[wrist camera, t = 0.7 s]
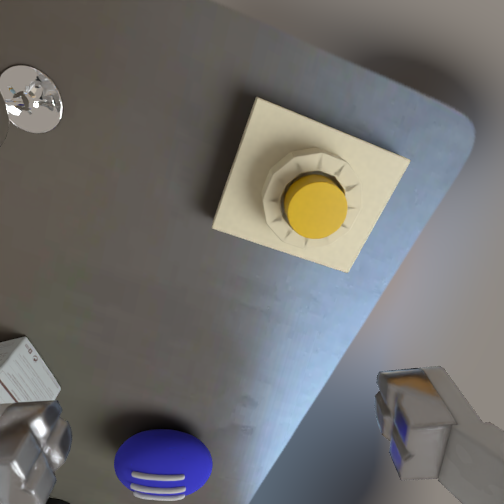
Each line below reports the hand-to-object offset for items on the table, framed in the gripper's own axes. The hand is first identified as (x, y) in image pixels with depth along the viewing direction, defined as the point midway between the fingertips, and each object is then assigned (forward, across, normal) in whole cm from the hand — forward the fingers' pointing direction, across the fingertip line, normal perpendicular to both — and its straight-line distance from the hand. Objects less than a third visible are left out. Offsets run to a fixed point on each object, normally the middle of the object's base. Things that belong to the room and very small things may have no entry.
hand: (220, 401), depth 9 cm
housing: (+21, -6, +1) cm, 22 cm away
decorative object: (+21, +11, +30) cm, 38 cm away
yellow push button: (+17, -6, +1) cm, 18 cm away
